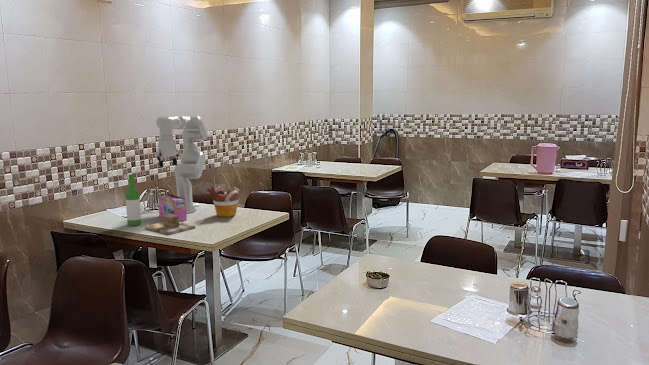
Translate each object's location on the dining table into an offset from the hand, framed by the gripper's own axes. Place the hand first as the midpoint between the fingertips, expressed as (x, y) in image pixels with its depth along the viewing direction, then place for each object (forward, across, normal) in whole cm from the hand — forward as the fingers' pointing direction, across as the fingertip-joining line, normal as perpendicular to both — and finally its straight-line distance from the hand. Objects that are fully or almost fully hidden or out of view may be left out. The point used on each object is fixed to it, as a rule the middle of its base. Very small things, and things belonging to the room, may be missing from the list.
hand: (168, 166), depth 304 cm
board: (+33, +13, +24) cm, 43 cm away
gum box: (+34, -4, -3) cm, 34 cm away
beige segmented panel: (+33, +13, +12) cm, 38 cm away
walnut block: (+32, +13, +18) cm, 39 cm away
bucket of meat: (+34, -28, +18) cm, 47 cm away
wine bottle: (+34, +20, -8) cm, 40 cm away
